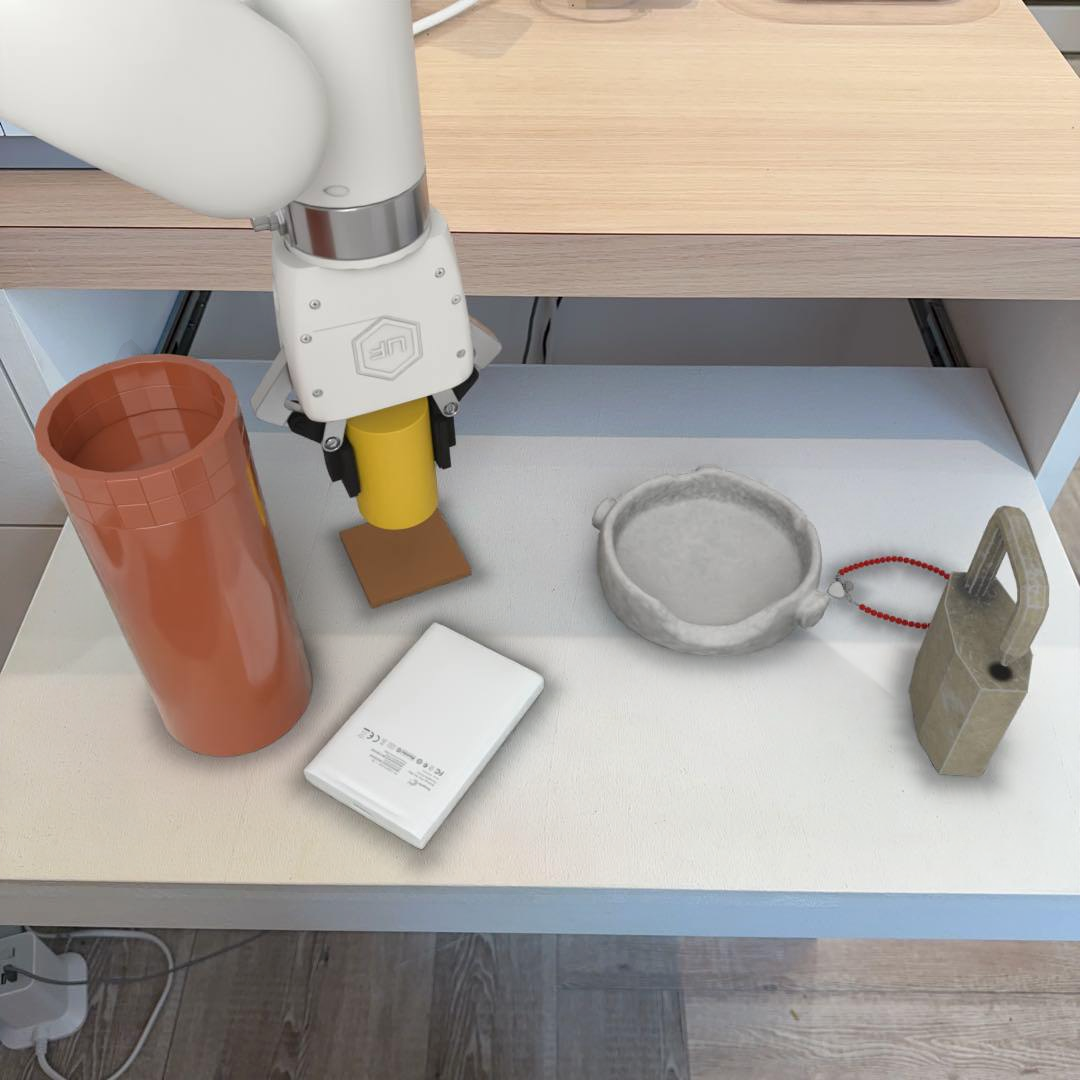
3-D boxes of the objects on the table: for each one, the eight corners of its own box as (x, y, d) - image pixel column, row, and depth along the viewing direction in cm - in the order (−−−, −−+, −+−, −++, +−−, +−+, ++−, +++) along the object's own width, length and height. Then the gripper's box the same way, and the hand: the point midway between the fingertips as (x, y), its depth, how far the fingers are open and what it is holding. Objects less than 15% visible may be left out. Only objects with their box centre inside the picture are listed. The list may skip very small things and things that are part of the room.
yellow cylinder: (372, 540, 67) (355, 443, 61) (347, 487, 70) (328, 391, 65) (450, 515, 69) (440, 418, 63) (422, 464, 72) (410, 368, 66)
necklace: (824, 617, 69) (827, 606, 68) (826, 549, 73) (829, 539, 72) (964, 638, 68) (969, 628, 67) (959, 568, 72) (963, 558, 71)
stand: (178, 779, 61) (47, 504, 45) (149, 663, 67) (24, 383, 51) (330, 724, 64) (257, 445, 48) (290, 617, 70) (213, 335, 54)
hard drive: (544, 692, 65) (422, 852, 58) (434, 636, 68) (306, 781, 61) (544, 676, 64) (420, 837, 57) (433, 619, 67) (301, 766, 60)
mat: (371, 608, 70) (370, 602, 70) (339, 537, 74) (338, 531, 74) (471, 575, 72) (471, 569, 72) (435, 507, 76) (434, 501, 76)
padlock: (924, 773, 61) (1005, 603, 50) (902, 659, 67) (970, 483, 56) (995, 778, 61) (1092, 608, 50) (967, 662, 67) (1048, 487, 56)
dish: (845, 646, 68) (862, 594, 64) (634, 692, 65) (640, 641, 62) (755, 491, 77) (766, 438, 74) (569, 527, 75) (570, 474, 71)
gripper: (200, 283, 50) (275, 551, 63) (539, 201, 54) (542, 467, 67) (168, 207, 54) (244, 471, 67) (483, 138, 59) (496, 397, 72)
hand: (393, 466), depth 67 cm, fingers closed on yellow cylinder, 5 cm apart
